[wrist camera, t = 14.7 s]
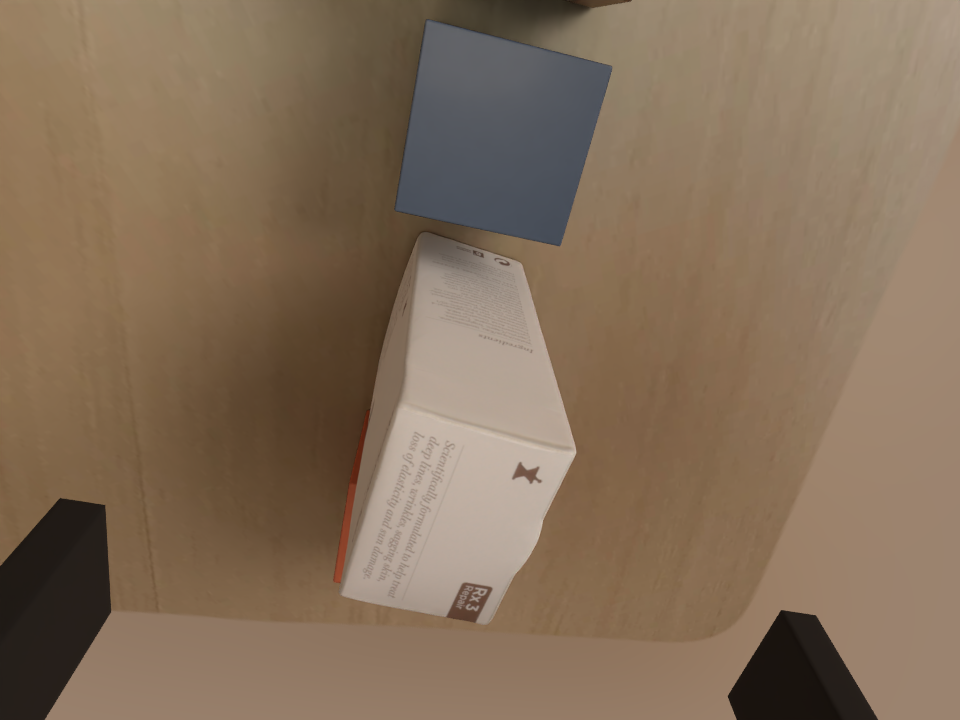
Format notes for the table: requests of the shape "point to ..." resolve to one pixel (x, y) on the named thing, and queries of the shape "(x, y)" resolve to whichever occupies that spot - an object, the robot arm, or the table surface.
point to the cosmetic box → (456, 439)
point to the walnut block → (597, 2)
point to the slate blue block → (498, 133)
